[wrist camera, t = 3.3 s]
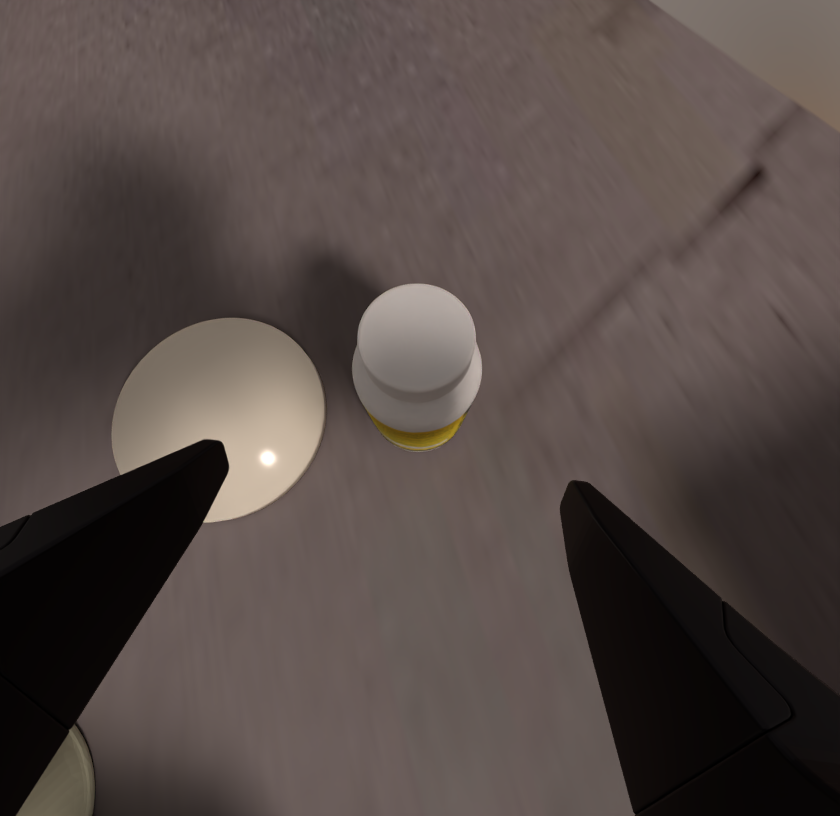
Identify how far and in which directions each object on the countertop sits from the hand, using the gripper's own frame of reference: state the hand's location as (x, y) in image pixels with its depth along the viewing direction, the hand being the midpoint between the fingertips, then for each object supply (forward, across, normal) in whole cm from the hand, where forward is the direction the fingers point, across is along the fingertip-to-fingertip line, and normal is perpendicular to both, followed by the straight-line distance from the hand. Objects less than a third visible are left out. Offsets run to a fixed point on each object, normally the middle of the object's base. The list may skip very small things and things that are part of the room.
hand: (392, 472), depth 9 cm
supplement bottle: (+11, 0, +5) cm, 12 cm away
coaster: (+10, +11, +6) cm, 16 cm away
